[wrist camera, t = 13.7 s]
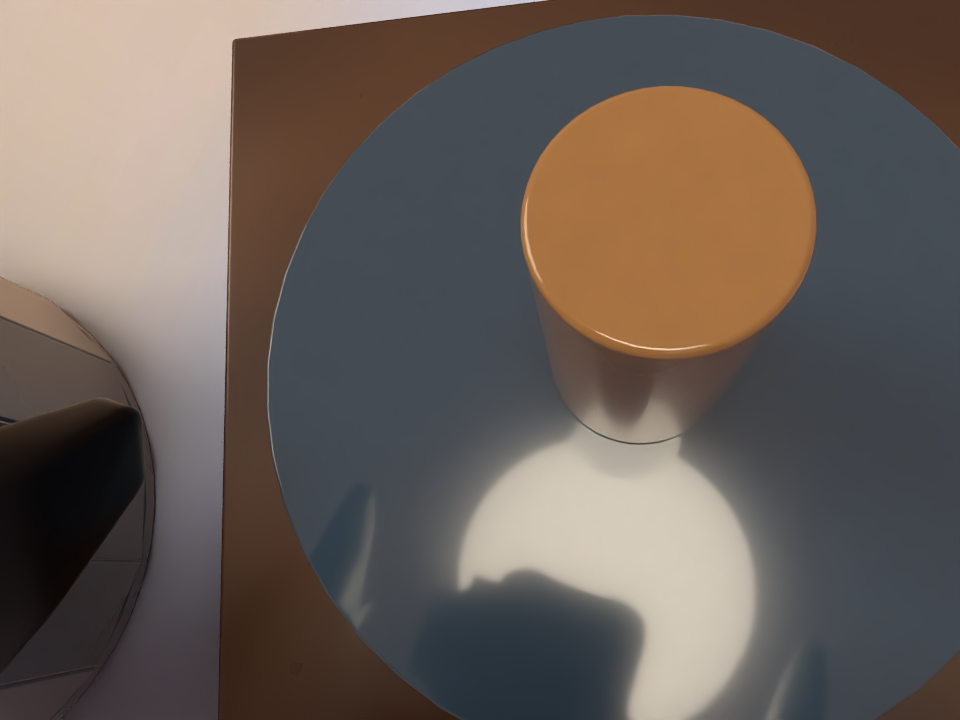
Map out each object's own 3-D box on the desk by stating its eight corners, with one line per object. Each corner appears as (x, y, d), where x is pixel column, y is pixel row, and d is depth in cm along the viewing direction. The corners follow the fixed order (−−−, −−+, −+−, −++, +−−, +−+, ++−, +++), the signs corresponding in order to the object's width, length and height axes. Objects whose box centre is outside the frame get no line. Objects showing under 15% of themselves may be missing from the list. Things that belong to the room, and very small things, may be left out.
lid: (881, 910, 12) (1207, 1306, 6) (172, 565, 14) (-167, 567, 8) (1115, 171, 14) (1560, -165, 7) (452, -24, 16) (358, -405, 10)
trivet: (1091, 785, 15) (1213, 841, 12) (281, 800, 16) (212, 851, 13) (946, 41, 18) (1014, -60, 15) (285, 115, 19) (230, 37, 16)
